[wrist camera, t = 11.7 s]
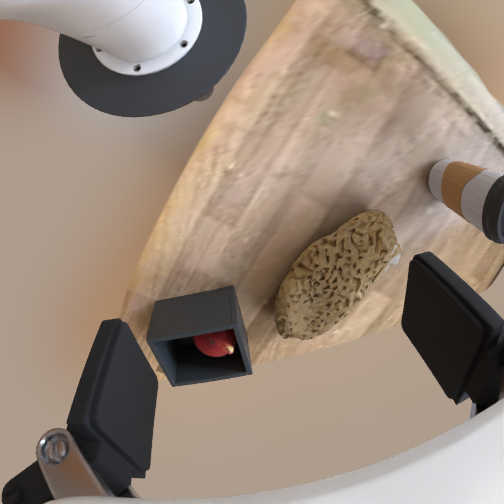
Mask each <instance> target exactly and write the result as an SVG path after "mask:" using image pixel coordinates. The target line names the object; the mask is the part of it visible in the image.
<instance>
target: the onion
mask: <svg viewBox="0 0 504 504" xmlns="http://www.w3.org/2000/svg"><path fill="white" fill-rule="evenodd" d="M193 339H194V341H195V344H196V346H197V347H198V349H199V350H201V351H202V352H203V353H204V354H206V355H209V356H213V357H220V356H225V355H226V354H228V353H229V354H232V353H233V352H234V350H233V348H234V346H235V345H236V341H237V340H236V336H235V333H234V330H233V329H228V330H223V331H218V332H213V333H207V334H202V335H196V336H193Z"/></svg>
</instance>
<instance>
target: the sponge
mask: <svg viewBox="0 0 504 504" xmlns="http://www.w3.org/2000/svg"><path fill="white" fill-rule="evenodd" d="M391 228H393V224H392V220H391V219H390V218H389V216H387V215H386V214H385V213H383V212H382V211H379V210H375V211H367V212H364V213H360V214H358V216H355V217H352V218H351V219H349V220H348V221H347V222H346V223H344V224H343V225H341V226H340V227H339V228H338V229H337V230H336V231H335V232H334V233H333V234H331V235H328V236H325V237H322V238H321V239H319V240H317V241H315V242H313V243H312V244H311V245H310V246H309V247H308V248H307V249H306V250H305V251H304V252H303V253H302V254H301V255H300V257H299V258H297V260H296V261H295V262H294V263H293V264H292V266H291V270H290V271H289V273H288V274H287V276H286V278H285V279H284V281H283V282H282V283H281V285H280V289H279V293H278V295H277V297H276V302H275V322H276V325H277V329H278V332H279V334H280V335H281V336H282V337H283V338H284V339H287V338H296V339H297V338H299V339H302V340H308V339H309V337H310V339H312V338H314V337H316V336H319V335H321V334H323V333H325V332H327V331H328V330H329V329H330V328H332V327H333V326H334V325H335V324H337V323H338V322H339V321H340V320H342V319H343V318H344V317H345V316H347V315H348V313H349V312H350V311H351V309H352V307H353V306H355V305H357V304H358V302H359V301H360V300H362V299H363V298H364V297H365V295H366V293H367V291H368V289H369V288H370V286H371V285H372V284H373V283H374V282H375V281H376V280H377V279H378V278H380V277H381V276H383V274H384V273H385V272H386V270H387V269H388V268H389V266H390V265H396V264H397V263H398V261H399V260H400V257H401V255H402V252H401V249H400V245H399V244H398V243H396V242H397V239H396V236H395V232H394V230H392V229H391Z"/></svg>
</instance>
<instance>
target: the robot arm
mask: <svg viewBox="0 0 504 504" xmlns="http://www.w3.org/2000/svg"><path fill="white" fill-rule="evenodd" d="M191 1H192V2H193V3H192V4H189V2H191ZM0 20H19V21H24V22H29V23H33V24H36V25H40V26H43V27H46V28H48V29H51V30H54V31H56V32H59V33H61V34H64V35H66V36H69V37H71V38H74V39H76V40H79V41H81V42H84V43H86V44H88V45H91V46H92V49H93V51H94V53H95V55H96V57H97V59H98V60H99V61H100V62H101V63H102V64H103V65H104V66H106V67H107V68H109V69H110V70H112V71H115V72H117V73H120V74H124V75H132V76H140V75H148V74H152V73H156V72H159V71H161V70H164V69H166V68H168V67H170V66H171V65H173V64H174V63H176V62H177V61H179V60H180V59H181V58H182V57H183V56H185V55H186V53H187V52H188V51H189V50H190V49H191V48H192V46H193V45H194V43H195V41H196V40H197V38H198V35H199V33H200V30H201V25H202V10H201V5H200V2H199V0H0ZM183 44H187V46H186V47H182V45H183ZM100 50H102V51H100ZM138 67H140V68H141V69H140V70H139V71H137V68H138ZM401 324H402V328H403V330H404V332H405V334H406V335H407V336H408V338H409V339H410V341H411V342H412V344H413V345H414V347H415V348H416V349H417V351H418V352H419V354H420V355H421V357H422V358H423V360H424V361H425V363H426V364H427V366H428V367H429V369H430V370H431V372H432V374H433V375H434V377H435V378H436V380H437V381H438V383H439V384H440V386H441V387H442V389H443V391H444V392H445V394H446V395H447V397H448V398H450V399H453V400H454V402H455V403H456V405H457V404H459V403H461V402H462V401H464V400H466V399H468V398H469V397H470V399H471V400H472V408H471V414H470V419H469V420H467V421H465V422H464V423H462V424H460V425H458V426H456V427H454V428H453V429H451V430H449V431H447V432H445V433H443V434H441V435H439V436H437V437H435V438H433V439H432V440H429V441H427V442H425V443H423V444H420V445H418V446H416V447H414V448H412V449H409V450H407V451H405V452H402V453H400V454H397V455H395V456H392V457H390V458H387V459H385V460H382V461H379V462H377V463H374V464H371V465H368V466H366V467H363V468H359V469H356V470H353V471H351V472H347V473H344V474H340V475H337V476H333V477H330V478H326V479H322V480H318V481H315V482H310V483H306V484H302V485H297V486H292V487H287V488H282V489H277V490H271V491H265V492H259V493H252V494H244V495H235V496H225V497H213V498H195V499H141V498H140V497H139V495H138V494H137V493H136V492H135V490H134V489H133V488H132V486H131V478H145V473H146V470H149V468H150V462H151V448H152V437H153V426H154V417H155V408H156V398H157V391H158V379H157V376H156V374H155V373H154V371H153V369H152V368H151V366H150V364H149V362H148V361H147V359H146V357H145V355H144V354H143V352H142V350H141V348H140V346H139V344H138V343H137V341H136V339H135V337H134V335H133V333H132V331H131V329H130V327H129V326H128V324H127V323H126V322H122V320H121V319H119V318H117V319H111V320H104V321H102V323H101V325H100V328H99V330H98V333H97V335H96V338H95V340H94V343H93V346H92V348H91V351H90V353H89V356H88V359H87V362H86V364H85V367H84V370H83V373H82V376H81V378H80V381H79V384H78V388H77V391H76V393H75V396H74V400H73V403H72V406H71V409H70V412H69V416H68V419H67V424H68V425H67V429H66V430H65V429H62V428H54V429H51V430H49V431H47V432H46V433H45V434H44V435H43V436H42V437H41V438H40V440H39V442H38V444H37V447H36V455H37V461H36V462H34V463H33V464H32V465H30V466H29V467H27V468H26V469H25V470H23V471H22V472H21V473H19V474H18V475H17V476H15V477H14V478H12V479H11V480H10V481H9V482H8V483H7V484H6V485H5V486H4V488H3V491H2V503H3V504H504V320H503V319H502V318H501V317H500V316H499V314H497V313H496V311H495V310H494V309H492V307H491V306H490V305H489V304H488V303H486V301H484V300H483V299H482V298H481V297H480V296H479V295H478V294H477V293H476V292H475V291H474V290H473V289H472V288H471V287H470V286H469V285H468V284H467V283H466V282H465V281H463V280H462V279H461V278H460V277H459V276H458V275H457V274H456V273H455V272H454V271H452V270H451V269H450V268H449V267H448V266H447V265H446V264H444V263H443V262H442V261H441V260H440V259H439V258H438V257H436V256H435V255H434V254H433V253H431V252H425V253H421V254H417V255H415V256H414V257H413V260H412V261H410V264H409V272H408V280H407V288H406V295H405V302H404V309H403V315H402V321H401Z"/></svg>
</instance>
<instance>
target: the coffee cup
mask: <svg viewBox="0 0 504 504" xmlns="http://www.w3.org/2000/svg"><path fill="white" fill-rule="evenodd" d="M428 183H429V188H430V191H431V193H432V195H433V196H434V197H435V198H436V199H438V200H439V201H441V202H442V203H444V204H445V205H446V206H447V207H448V208H450V209H451V210H453V211H454V212H455V213H457V214H458V215H460V216H461V217H462V218H464V219H465V220H466V221H468V222H469V223H471V224H473V225H474V226H475V227H477V228H478V229H479V230H481V231H482V232H483V233H484V234H485V236H486V237H487V238H488V239H490V240H492V241H494V242H495V243H499V244H502V243H503V244H504V175H503V174H500V173H496V172H493V171H490V170H488V169H486V168H482V167H479V166H475V165H471V164H468V163H464V162H459V161H454V160H450V159H443V160H441V161H438V162H437V163H436V164H434V166H433V167H432V169H431V171H430V174H429V180H428Z"/></svg>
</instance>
